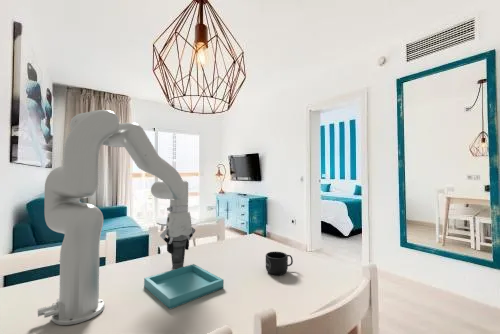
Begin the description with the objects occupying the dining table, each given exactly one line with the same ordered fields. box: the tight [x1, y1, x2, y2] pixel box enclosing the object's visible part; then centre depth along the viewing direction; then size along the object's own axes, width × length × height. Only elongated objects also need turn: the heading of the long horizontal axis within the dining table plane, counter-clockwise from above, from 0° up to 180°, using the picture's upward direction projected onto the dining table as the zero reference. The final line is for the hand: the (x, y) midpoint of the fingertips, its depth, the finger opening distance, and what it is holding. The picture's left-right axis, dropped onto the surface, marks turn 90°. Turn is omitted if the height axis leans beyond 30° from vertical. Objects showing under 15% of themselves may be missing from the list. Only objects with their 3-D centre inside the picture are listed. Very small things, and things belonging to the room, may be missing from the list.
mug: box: [265, 251, 294, 276], centre depth 104 cm, size 12×9×7 cm
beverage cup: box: [170, 235, 187, 269], centre depth 109 cm, size 7×7×20 cm
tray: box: [143, 263, 225, 310], centre depth 90 cm, size 20×20×3 cm
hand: (178, 250), depth 109 cm, fingers closed on beverage cup, 6 cm apart
